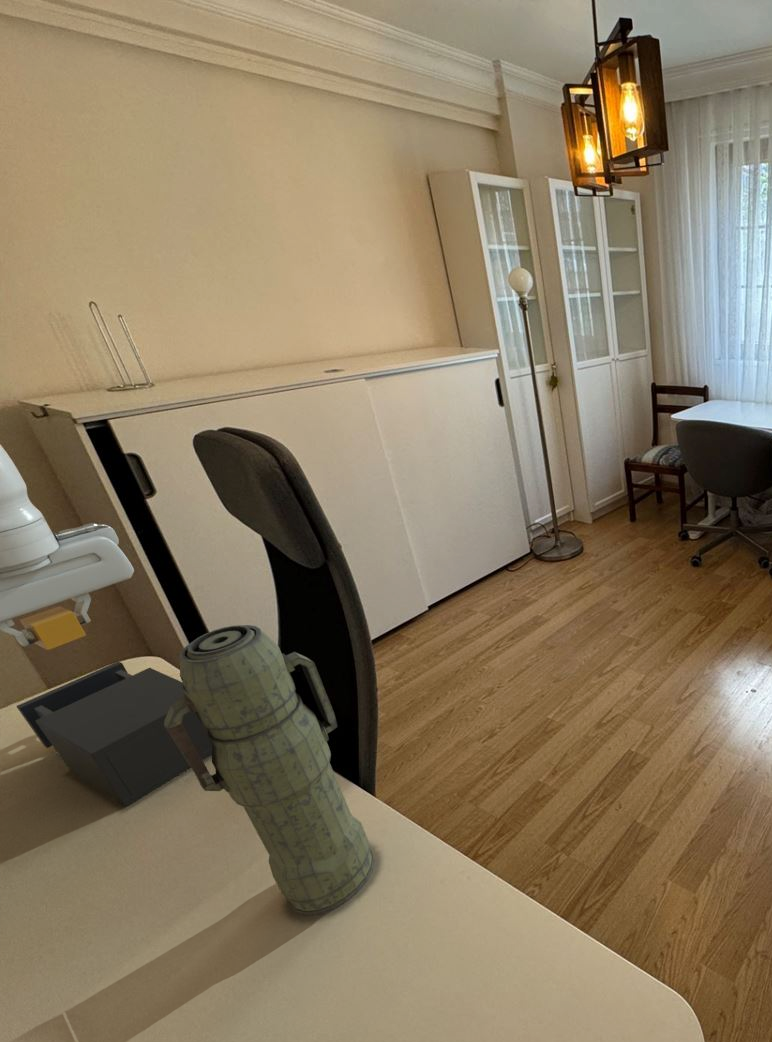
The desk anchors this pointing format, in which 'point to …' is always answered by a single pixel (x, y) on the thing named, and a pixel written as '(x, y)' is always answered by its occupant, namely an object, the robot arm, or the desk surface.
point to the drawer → (69, 695)
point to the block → (54, 627)
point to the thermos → (273, 762)
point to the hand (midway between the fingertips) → (56, 633)
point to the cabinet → (125, 736)
